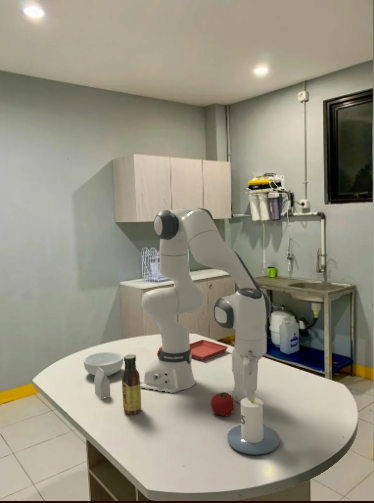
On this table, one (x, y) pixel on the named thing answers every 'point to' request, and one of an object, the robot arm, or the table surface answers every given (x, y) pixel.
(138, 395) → the sauce bottle
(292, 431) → the table surface
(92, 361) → the cereal bowl
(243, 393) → the water bottle
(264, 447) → the candle dish
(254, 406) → the candle
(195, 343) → the plant saucer
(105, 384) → the small milk carton
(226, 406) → the tomato
